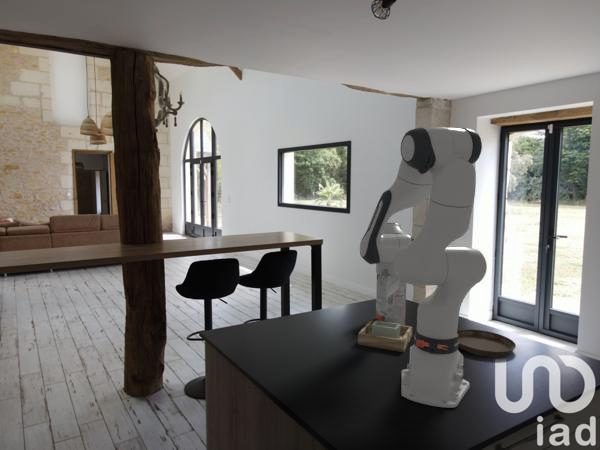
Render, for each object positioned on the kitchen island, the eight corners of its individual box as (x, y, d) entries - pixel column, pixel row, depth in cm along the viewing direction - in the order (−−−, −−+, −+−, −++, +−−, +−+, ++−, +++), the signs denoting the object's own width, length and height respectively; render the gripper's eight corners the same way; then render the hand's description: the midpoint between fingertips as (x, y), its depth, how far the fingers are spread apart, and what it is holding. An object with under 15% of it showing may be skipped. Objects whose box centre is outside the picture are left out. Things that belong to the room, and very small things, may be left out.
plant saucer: (518, 345, 150) (519, 336, 150) (510, 365, 133) (511, 355, 132) (458, 333, 161) (459, 325, 161) (444, 350, 144) (444, 341, 144)
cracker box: (374, 318, 177) (376, 270, 175) (387, 317, 179) (388, 269, 177) (392, 329, 164) (394, 277, 162) (405, 328, 166) (407, 276, 164)
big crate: (403, 352, 141) (404, 340, 141) (357, 344, 148) (358, 333, 148) (411, 337, 156) (412, 326, 156) (369, 330, 162) (370, 320, 162)
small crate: (396, 342, 147) (397, 329, 147) (371, 338, 151) (371, 325, 150) (399, 337, 153) (400, 323, 152) (375, 333, 156) (376, 320, 156)
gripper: (391, 272, 139) (390, 314, 139) (403, 265, 157) (402, 301, 158) (372, 271, 141) (371, 312, 142) (386, 264, 160) (385, 300, 160)
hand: (387, 306), depth 150 cm, fingers open, 8 cm apart
